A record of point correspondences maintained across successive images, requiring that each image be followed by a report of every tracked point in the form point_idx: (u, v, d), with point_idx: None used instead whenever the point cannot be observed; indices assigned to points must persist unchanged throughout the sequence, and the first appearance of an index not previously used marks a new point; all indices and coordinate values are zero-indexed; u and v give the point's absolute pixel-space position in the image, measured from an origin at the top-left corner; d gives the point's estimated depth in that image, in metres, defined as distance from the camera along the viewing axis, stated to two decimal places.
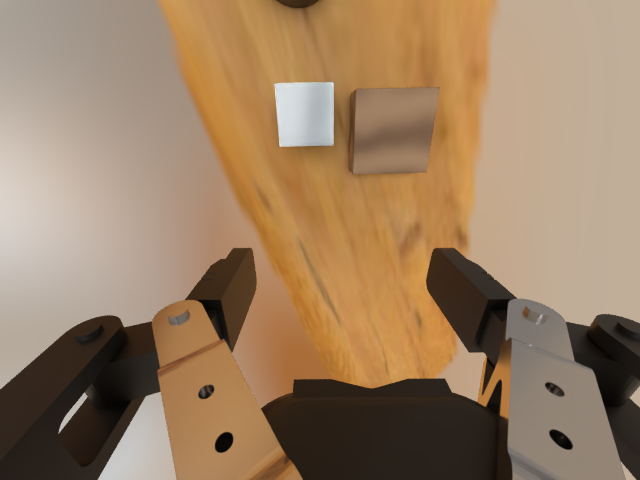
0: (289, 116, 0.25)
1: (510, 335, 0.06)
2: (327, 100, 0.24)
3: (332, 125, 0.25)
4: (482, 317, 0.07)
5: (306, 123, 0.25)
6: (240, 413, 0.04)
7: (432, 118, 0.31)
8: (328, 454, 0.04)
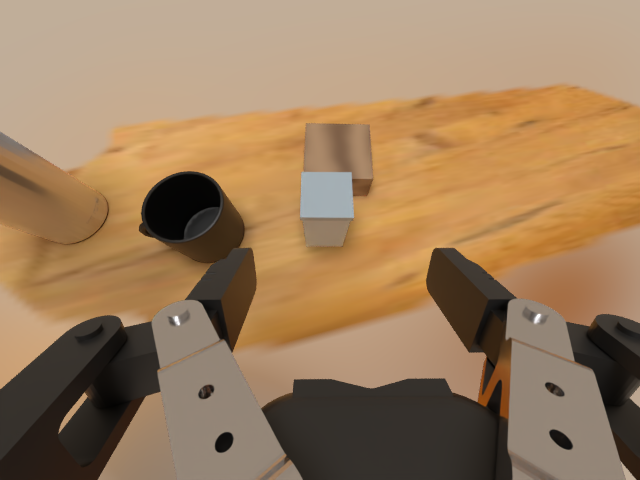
0: (327, 207, 0.27)
1: (510, 335, 0.06)
2: (314, 176, 0.28)
3: (334, 173, 0.28)
4: (482, 317, 0.07)
5: (332, 193, 0.27)
6: (240, 413, 0.04)
7: (327, 125, 0.38)
8: (328, 454, 0.04)
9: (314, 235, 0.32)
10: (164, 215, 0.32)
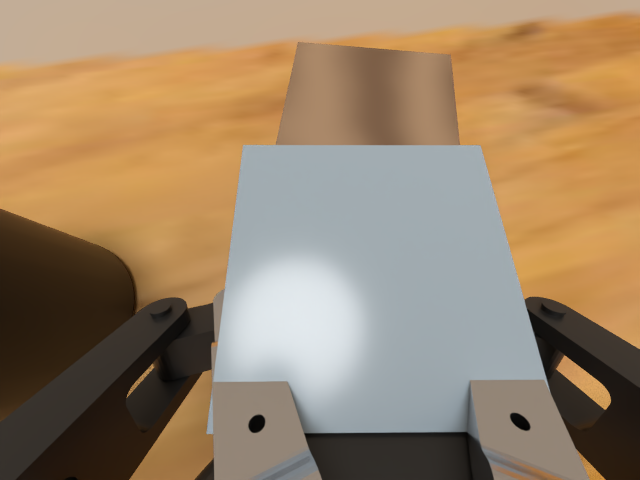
0: (378, 350, 0.04)
1: None
2: (306, 167, 0.06)
3: (401, 149, 0.06)
4: None
5: (403, 254, 0.05)
6: (274, 400, 0.04)
7: (348, 49, 0.16)
8: (328, 454, 0.04)
9: None
10: None
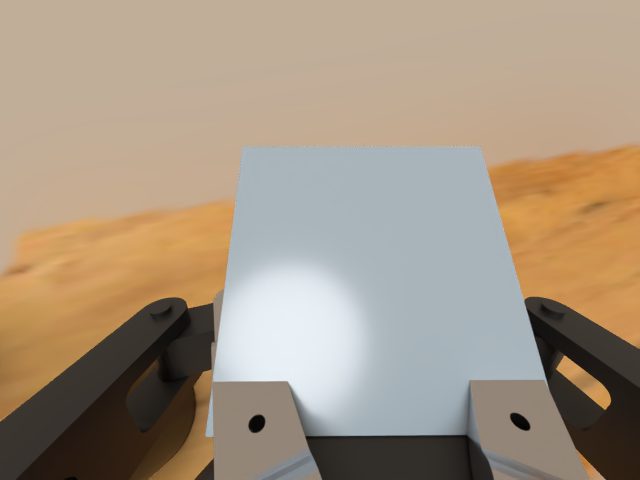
0: (378, 353, 0.04)
1: None
2: (306, 169, 0.06)
3: (401, 150, 0.06)
4: None
5: (403, 256, 0.05)
6: (274, 400, 0.04)
7: None
8: (328, 454, 0.04)
9: None
10: None
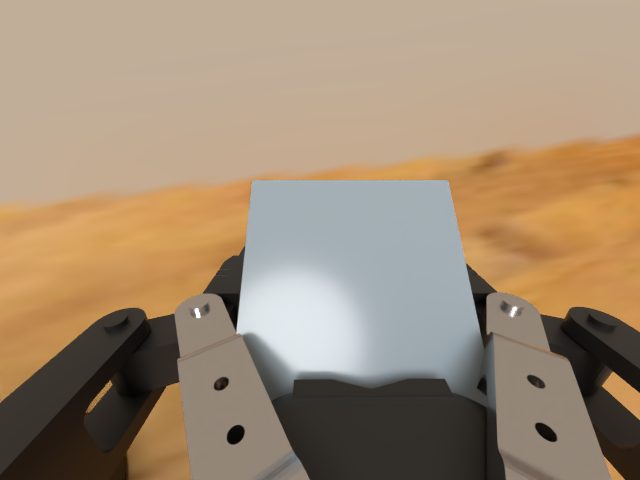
0: (360, 349, 0.06)
1: (490, 329, 0.06)
2: (304, 200, 0.07)
3: (383, 183, 0.07)
4: None
5: (381, 272, 0.06)
6: (252, 407, 0.04)
7: None
8: (328, 454, 0.04)
9: None
10: None
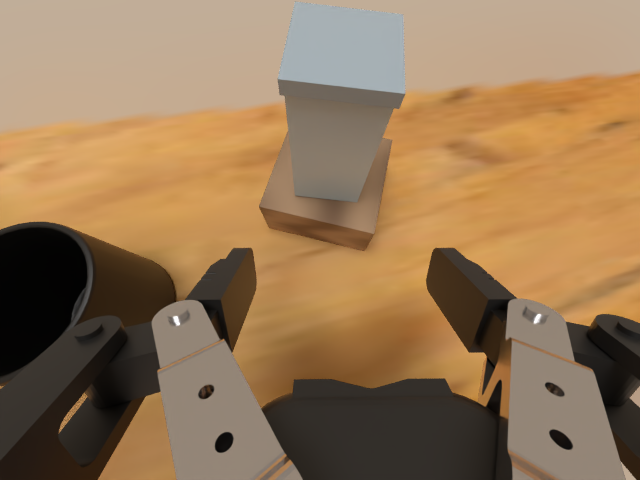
0: (343, 67, 0.11)
1: (510, 335, 0.06)
2: (323, 12, 0.13)
3: (367, 11, 0.13)
4: (482, 317, 0.07)
5: (359, 43, 0.12)
6: (240, 413, 0.04)
7: None
8: (328, 454, 0.04)
9: (309, 162, 0.17)
10: (8, 297, 0.17)
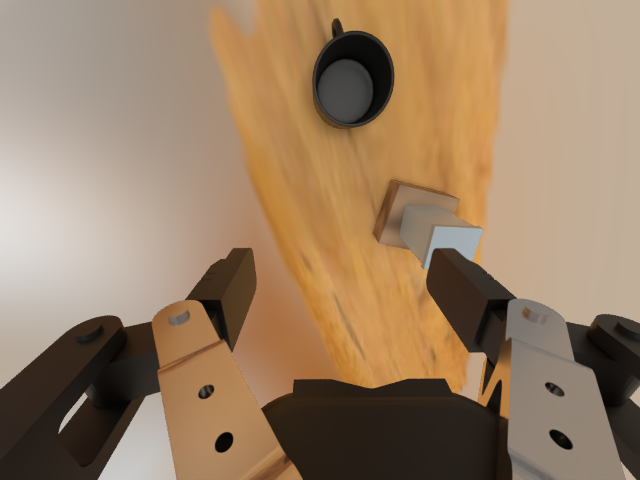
0: None
1: (510, 335, 0.06)
2: (473, 240, 0.29)
3: (472, 257, 0.30)
4: (482, 317, 0.07)
5: None
6: (240, 413, 0.04)
7: None
8: (328, 454, 0.04)
9: (414, 221, 0.34)
10: (352, 46, 0.29)
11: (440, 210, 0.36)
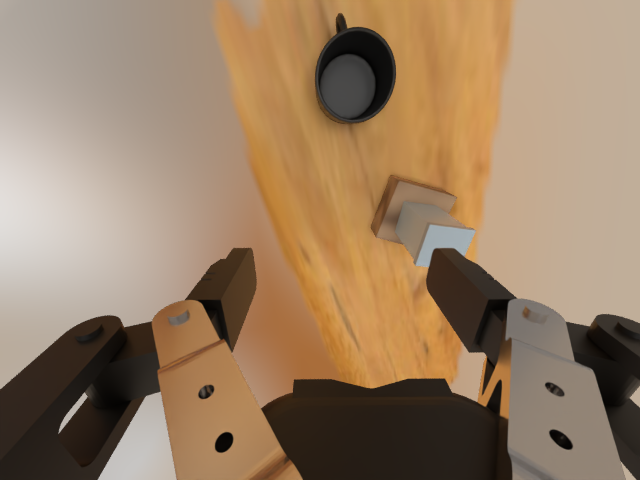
0: (431, 247, 0.31)
1: (510, 335, 0.06)
2: (465, 241, 0.30)
3: None
4: (482, 317, 0.07)
5: None
6: (240, 413, 0.04)
7: None
8: (328, 454, 0.04)
9: (411, 218, 0.35)
10: (356, 42, 0.30)
11: (437, 209, 0.37)
